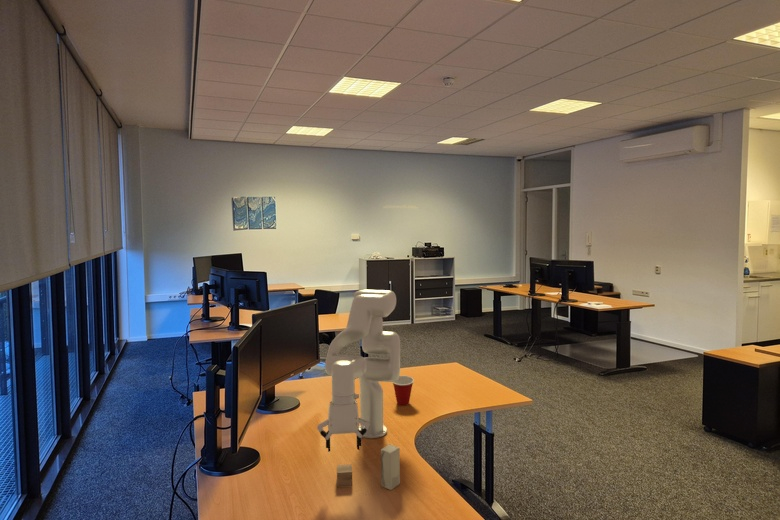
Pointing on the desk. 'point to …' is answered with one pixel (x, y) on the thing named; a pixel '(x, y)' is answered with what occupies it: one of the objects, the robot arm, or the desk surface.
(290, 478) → the desk surface
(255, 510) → the desk surface
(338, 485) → the walnut cube
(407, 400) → the plastic cup
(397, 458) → the box
